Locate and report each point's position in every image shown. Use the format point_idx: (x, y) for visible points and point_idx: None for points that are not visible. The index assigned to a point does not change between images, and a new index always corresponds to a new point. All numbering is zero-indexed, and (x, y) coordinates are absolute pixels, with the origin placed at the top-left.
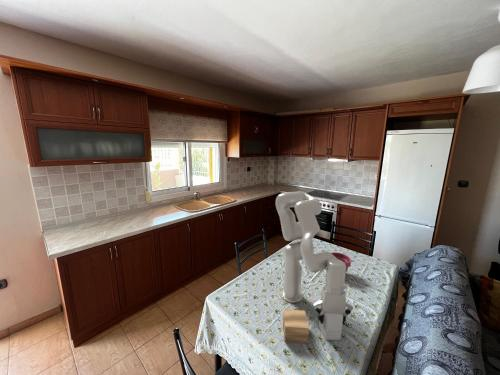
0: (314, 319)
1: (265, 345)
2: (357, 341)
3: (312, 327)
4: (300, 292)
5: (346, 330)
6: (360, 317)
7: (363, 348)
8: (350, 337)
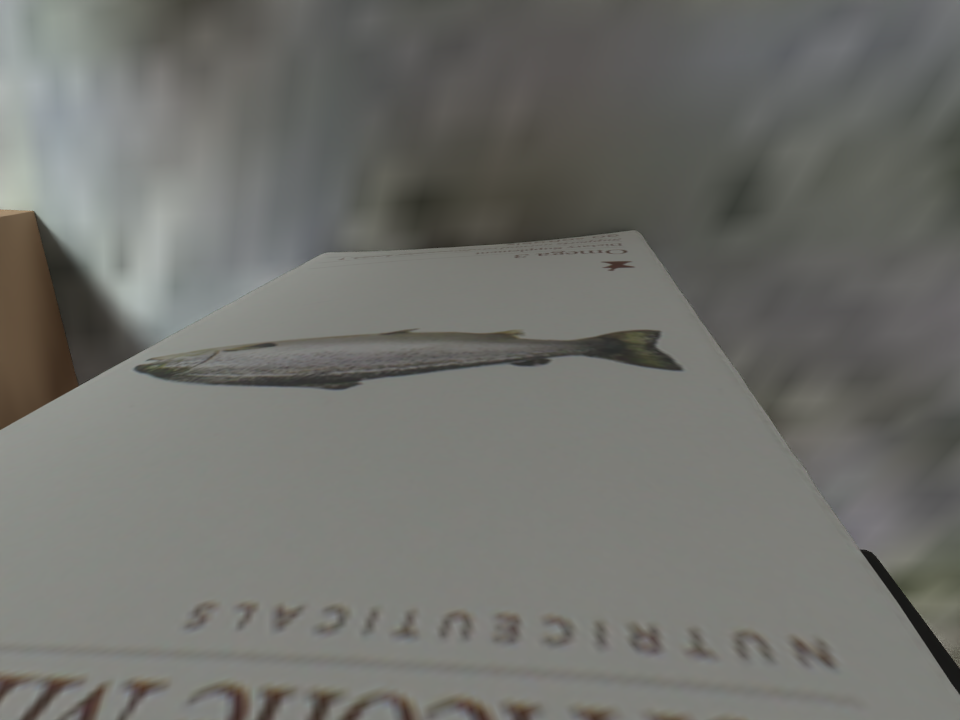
0: (253, 43)
1: None
2: (934, 535)
3: (196, 271)
4: None
5: (879, 319)
6: None
7: (943, 637)
8: (854, 465)
